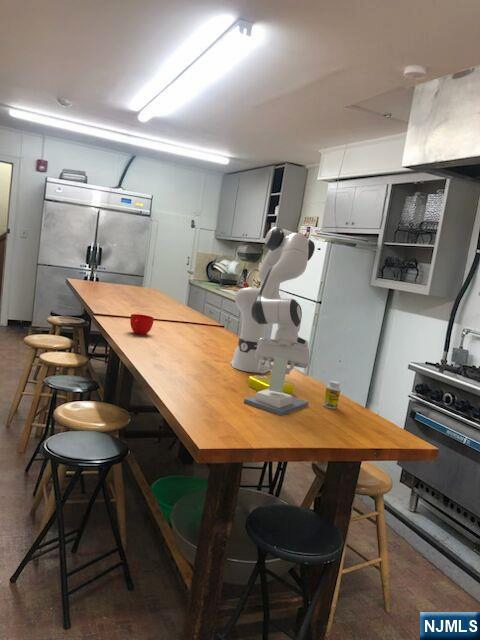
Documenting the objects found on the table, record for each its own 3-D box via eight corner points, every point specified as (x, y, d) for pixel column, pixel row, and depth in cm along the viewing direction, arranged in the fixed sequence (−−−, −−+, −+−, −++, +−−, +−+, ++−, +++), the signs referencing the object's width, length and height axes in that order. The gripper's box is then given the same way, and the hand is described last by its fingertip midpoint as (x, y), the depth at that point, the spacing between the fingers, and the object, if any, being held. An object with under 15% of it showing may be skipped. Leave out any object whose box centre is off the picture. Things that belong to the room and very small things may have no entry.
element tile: (268, 397, 197) (270, 385, 197) (245, 385, 209) (247, 374, 208) (295, 395, 207) (297, 384, 206) (271, 384, 218) (273, 374, 218)
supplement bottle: (326, 408, 193) (331, 383, 192) (320, 404, 199) (325, 379, 197) (339, 409, 195) (344, 384, 193) (333, 405, 200) (338, 380, 199)
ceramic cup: (121, 333, 272) (124, 315, 271) (133, 330, 289) (135, 313, 288) (144, 338, 270) (146, 320, 269) (154, 334, 287) (157, 317, 286)
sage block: (269, 386, 187) (275, 356, 186) (282, 389, 187) (288, 358, 185) (268, 390, 182) (274, 358, 181) (281, 392, 182) (287, 361, 180)
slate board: (272, 393, 201) (274, 383, 201) (307, 405, 193) (309, 394, 192) (243, 402, 183) (245, 390, 182) (281, 416, 174) (284, 403, 174)
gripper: (259, 332, 190) (251, 361, 182) (312, 342, 188) (307, 372, 179) (258, 341, 195) (251, 370, 187) (310, 351, 193) (305, 381, 184)
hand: (278, 371), depth 183 cm, fingers closed on sage block, 5 cm apart
